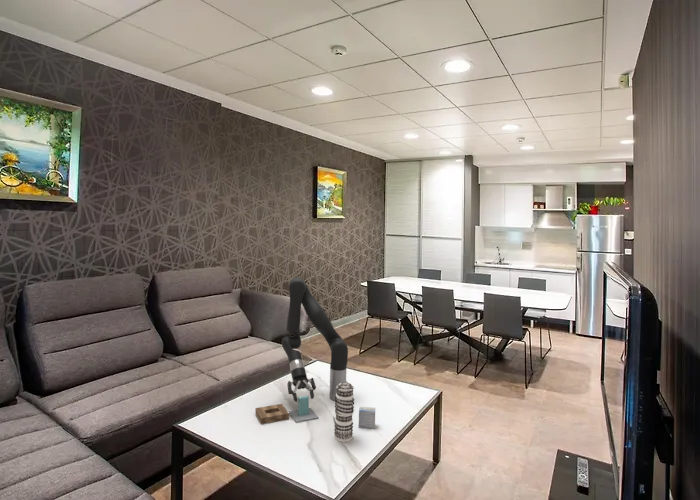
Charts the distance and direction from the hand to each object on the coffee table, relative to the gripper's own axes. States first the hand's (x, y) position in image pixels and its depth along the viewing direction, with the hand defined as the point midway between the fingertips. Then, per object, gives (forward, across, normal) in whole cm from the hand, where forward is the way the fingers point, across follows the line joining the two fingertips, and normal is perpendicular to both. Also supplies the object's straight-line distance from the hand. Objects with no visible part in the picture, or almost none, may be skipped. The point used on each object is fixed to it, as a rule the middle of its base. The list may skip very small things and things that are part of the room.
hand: (304, 399), depth 212 cm
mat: (+5, 0, +7) cm, 9 cm away
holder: (+2, -15, +11) cm, 19 cm away
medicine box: (+21, +25, -8) cm, 34 cm away
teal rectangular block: (+5, 0, +7) cm, 8 cm away
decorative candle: (+25, +10, -12) cm, 29 cm away
